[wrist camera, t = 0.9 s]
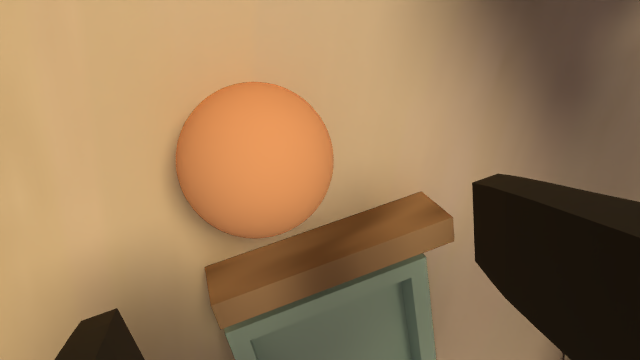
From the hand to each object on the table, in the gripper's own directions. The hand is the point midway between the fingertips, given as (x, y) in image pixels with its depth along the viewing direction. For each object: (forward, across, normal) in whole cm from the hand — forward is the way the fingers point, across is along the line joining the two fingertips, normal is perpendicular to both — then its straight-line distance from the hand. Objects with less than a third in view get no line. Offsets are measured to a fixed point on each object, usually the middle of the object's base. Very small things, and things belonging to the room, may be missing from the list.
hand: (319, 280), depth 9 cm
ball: (+9, 0, 0) cm, 9 cm away
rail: (+9, -2, +6) cm, 11 cm away
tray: (+9, -2, +12) cm, 15 cm away
